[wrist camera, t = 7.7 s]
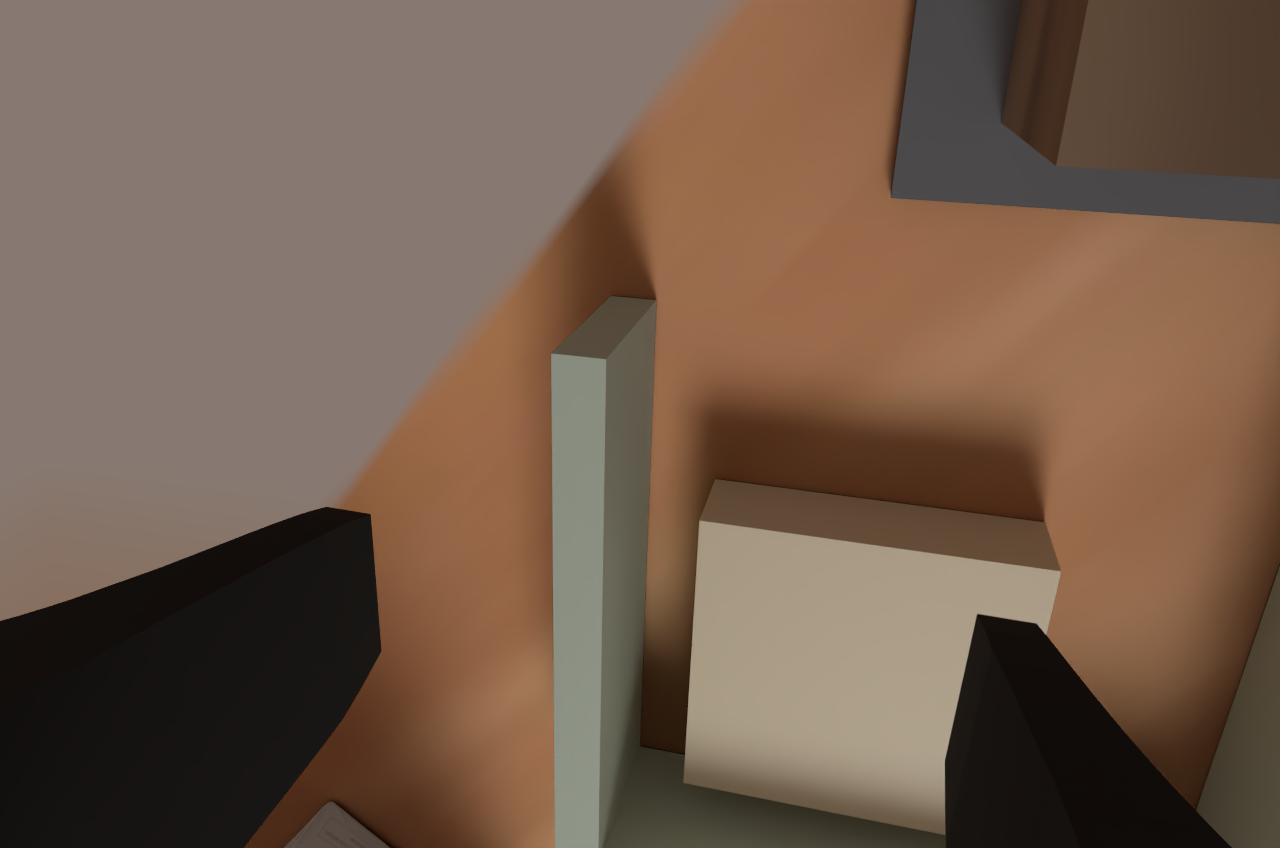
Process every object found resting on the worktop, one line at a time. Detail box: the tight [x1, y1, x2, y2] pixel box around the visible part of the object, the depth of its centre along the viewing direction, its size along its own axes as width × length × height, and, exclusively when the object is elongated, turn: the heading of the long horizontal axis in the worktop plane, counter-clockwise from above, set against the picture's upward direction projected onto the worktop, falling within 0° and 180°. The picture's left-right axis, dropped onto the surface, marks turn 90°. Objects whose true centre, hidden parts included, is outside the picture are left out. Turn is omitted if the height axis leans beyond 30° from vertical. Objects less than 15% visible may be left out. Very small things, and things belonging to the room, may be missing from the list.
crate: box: [551, 296, 1280, 848], centre depth 19 cm, size 15×13×4 cm
